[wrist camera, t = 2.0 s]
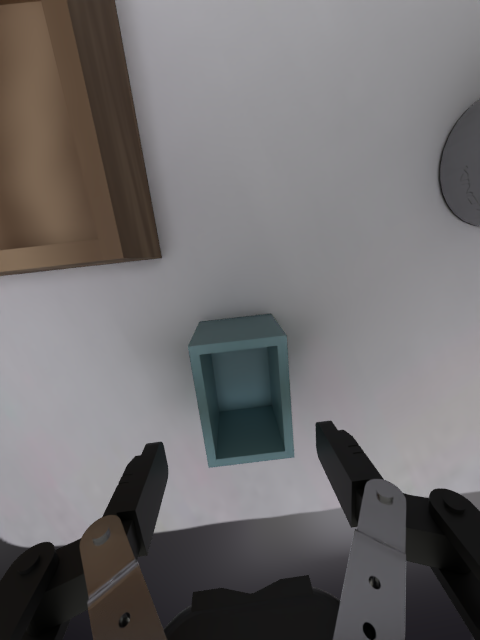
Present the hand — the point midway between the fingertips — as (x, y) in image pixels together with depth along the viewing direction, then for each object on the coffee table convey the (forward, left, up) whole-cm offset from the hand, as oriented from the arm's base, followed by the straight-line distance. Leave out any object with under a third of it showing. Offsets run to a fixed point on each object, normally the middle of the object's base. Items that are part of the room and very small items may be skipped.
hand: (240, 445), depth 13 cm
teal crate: (0, 0, -9) cm, 9 cm away
